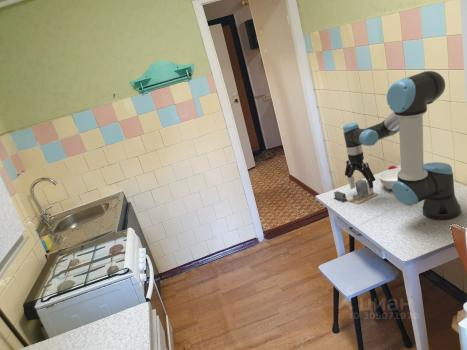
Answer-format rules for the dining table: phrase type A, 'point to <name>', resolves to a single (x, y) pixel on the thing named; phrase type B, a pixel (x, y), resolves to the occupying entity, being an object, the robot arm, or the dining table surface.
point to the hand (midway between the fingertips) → (361, 190)
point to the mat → (363, 199)
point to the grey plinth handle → (340, 196)
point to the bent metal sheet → (361, 190)
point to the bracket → (392, 167)
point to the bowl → (389, 177)
